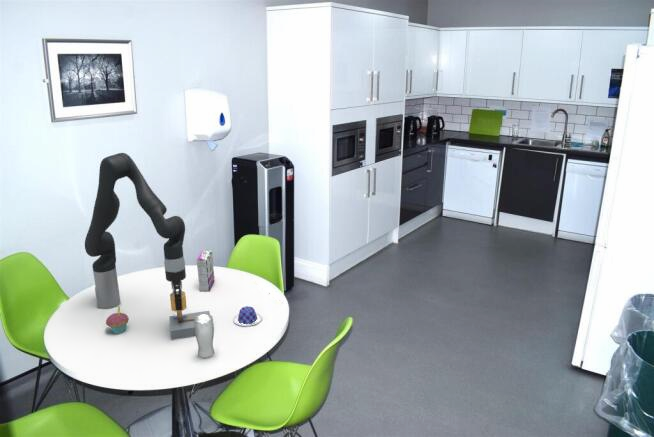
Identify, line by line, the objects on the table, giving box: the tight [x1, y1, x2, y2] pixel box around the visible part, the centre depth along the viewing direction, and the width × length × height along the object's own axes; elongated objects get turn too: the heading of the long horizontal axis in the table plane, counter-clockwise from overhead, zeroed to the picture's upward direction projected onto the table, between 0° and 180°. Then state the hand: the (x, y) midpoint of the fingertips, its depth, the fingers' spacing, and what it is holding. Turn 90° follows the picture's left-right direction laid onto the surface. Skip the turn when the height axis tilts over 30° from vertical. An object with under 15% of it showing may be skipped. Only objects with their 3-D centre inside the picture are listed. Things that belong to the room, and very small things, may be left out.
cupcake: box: [105, 305, 130, 334], centre depth 209 cm, size 9×8×12 cm
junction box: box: [169, 310, 211, 341], centre depth 211 cm, size 16×12×5 cm
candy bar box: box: [196, 250, 215, 292], centre depth 246 cm, size 11×5×16 cm, turn 179°
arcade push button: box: [169, 290, 188, 313], centre depth 206 cm, size 6×6×7 cm
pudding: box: [232, 305, 263, 327], centre depth 218 cm, size 12×12×5 cm
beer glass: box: [194, 314, 215, 359], centre depth 192 cm, size 7×7×15 cm
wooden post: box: [176, 311, 183, 323], centre depth 208 cm, size 2×2×9 cm
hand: (178, 306), depth 207 cm, fingers closed on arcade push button, 5 cm apart
